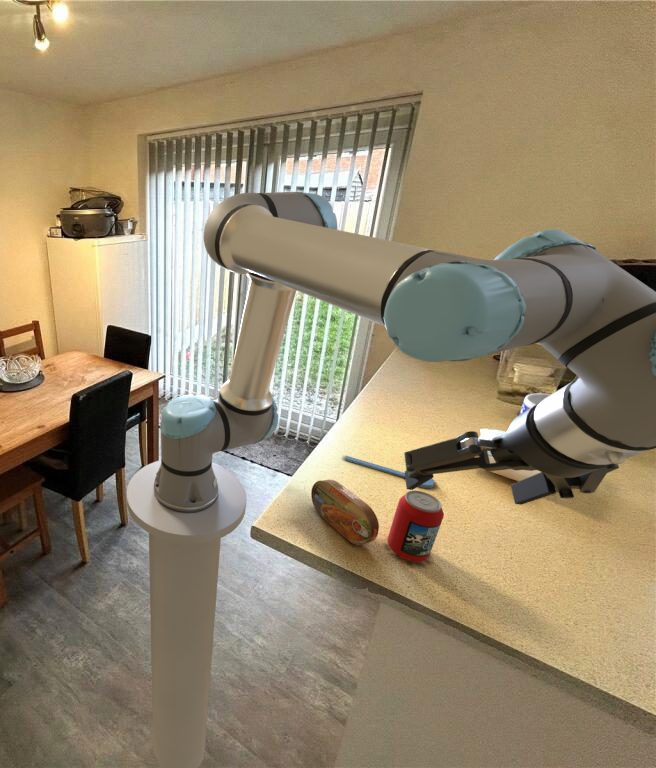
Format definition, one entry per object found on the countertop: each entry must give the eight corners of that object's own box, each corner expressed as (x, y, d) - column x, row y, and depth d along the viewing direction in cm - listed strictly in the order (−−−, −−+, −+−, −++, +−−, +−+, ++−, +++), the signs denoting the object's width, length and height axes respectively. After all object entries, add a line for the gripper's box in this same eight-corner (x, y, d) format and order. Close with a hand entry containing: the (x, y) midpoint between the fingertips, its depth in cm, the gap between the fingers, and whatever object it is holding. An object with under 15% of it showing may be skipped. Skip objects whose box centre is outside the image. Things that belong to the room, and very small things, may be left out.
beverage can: (411, 570, 70) (429, 517, 65) (378, 543, 76) (392, 493, 71) (436, 558, 72) (455, 506, 68) (402, 533, 78) (417, 484, 73)
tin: (307, 504, 86) (313, 473, 83) (319, 501, 87) (325, 469, 84) (363, 555, 73) (372, 520, 70) (376, 550, 74) (386, 516, 71)
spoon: (343, 463, 100) (343, 460, 100) (347, 454, 104) (347, 451, 103) (432, 491, 90) (433, 487, 89) (433, 480, 93) (435, 476, 93)
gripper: (439, 450, 40) (368, 499, 58) (763, 486, 34) (572, 529, 52) (428, 386, 43) (365, 452, 62) (720, 410, 38) (556, 474, 56)
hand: (460, 487), depth 57 cm, fingers open, 13 cm apart
